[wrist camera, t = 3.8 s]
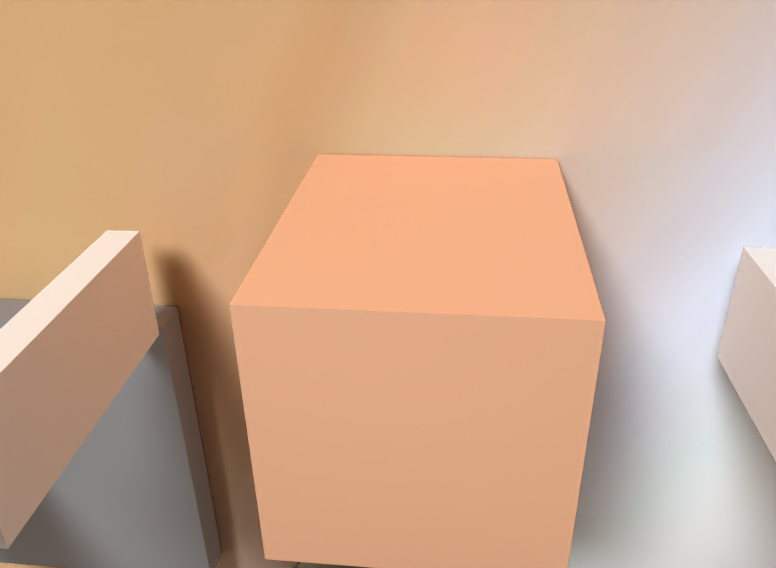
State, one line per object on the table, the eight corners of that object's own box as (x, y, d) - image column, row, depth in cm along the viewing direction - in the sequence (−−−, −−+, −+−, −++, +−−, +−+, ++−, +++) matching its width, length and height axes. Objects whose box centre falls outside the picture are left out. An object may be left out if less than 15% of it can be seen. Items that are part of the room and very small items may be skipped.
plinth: (-217, 289, 19) (-249, 308, 19) (177, 306, 18) (162, 327, 17) (-103, 527, 24) (-124, 552, 23) (222, 552, 23) (211, 579, 22)
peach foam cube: (318, 153, 16) (229, 305, 10) (557, 159, 15) (605, 320, 10) (330, 349, 18) (265, 559, 13) (536, 359, 18) (565, 582, 12)
